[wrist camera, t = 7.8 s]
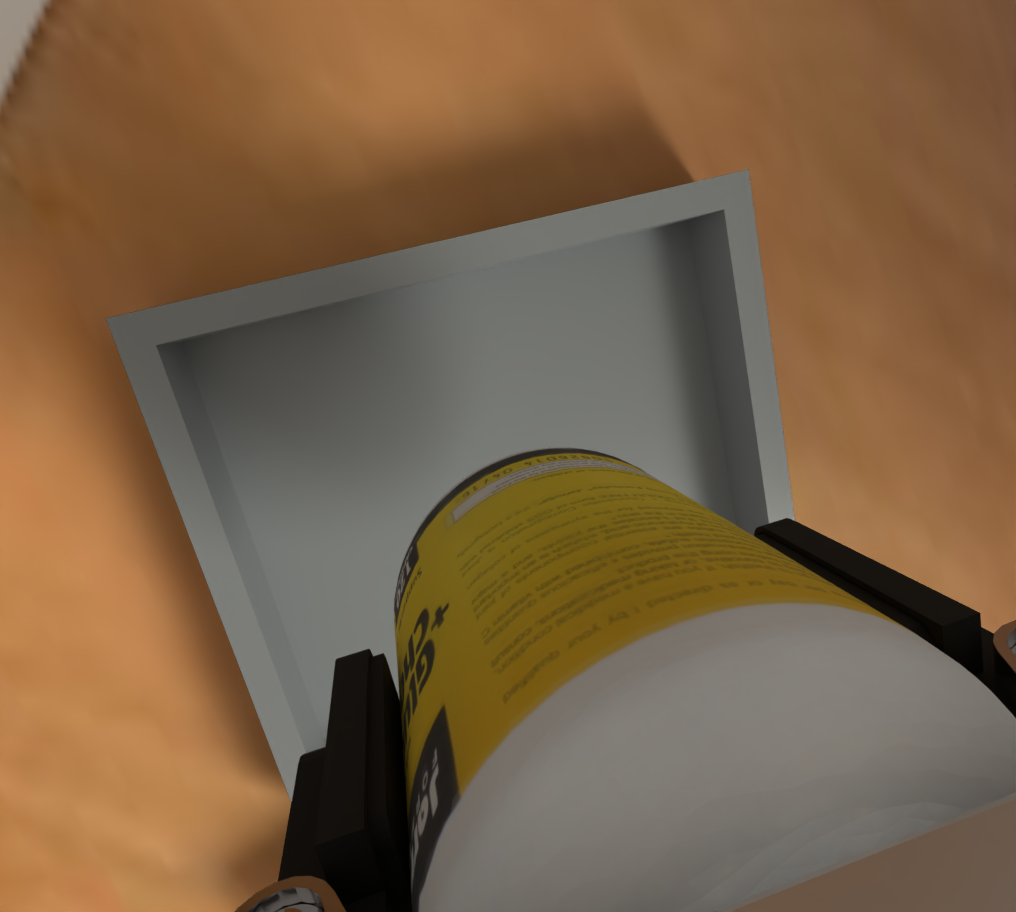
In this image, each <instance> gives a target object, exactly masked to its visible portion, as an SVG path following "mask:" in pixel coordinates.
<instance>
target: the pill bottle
mask: <svg viewBox="0 0 1016 912" xmlns="http://www.w3.org/2000/svg"><path fill="white" fill-rule="evenodd" d="M394 627H395V641H396V654H397V667H398V684H399V700H400V716H401V728H402V741H403V757H404V772H405V785H406V800H407V819H408V838H409V866H410V874H411V892H412V912H713V911H715V910H718V909H720V908H723V907H725V906H728V905H731V904H733V903H736V902H738V901H741V900H743V899H746V898H748V897H751V896H753V895H756V894H758V893H761V892H763V891H766V890H768V889H771V888H773V887H776V886H778V885H781V884H783V883H786V882H788V881H791V880H793V879H796V878H799V877H801V876H804V875H806V874H809V873H811V872H814V871H816V870H819V869H821V868H824V867H826V866H829V865H831V864H834V863H836V862H839V861H841V860H844V859H846V858H849V857H852V856H854V855H857V854H859V853H862V852H864V851H867V850H869V849H872V848H874V847H877V846H879V845H882V844H885V843H887V842H890V841H892V840H895V839H897V838H900V837H902V836H905V835H907V834H910V833H912V832H915V831H918V830H920V829H923V828H925V827H928V826H930V825H933V824H935V823H938V822H940V821H943V820H946V819H948V818H951V817H953V816H956V815H958V814H961V813H964V812H966V811H969V810H971V809H974V808H976V807H979V806H982V805H984V804H987V803H989V802H992V801H995V800H997V799H1000V798H1002V797H1005V796H1007V795H1010V794H1013V793H1015V792H1016V718H1015V717H1014V716H1013V714H1012V713H1011V712H1010V711H1009V710H1008V709H1007V708H1006V707H1005V706H1004V705H1003V703H1002V702H1001V701H1000V700H999V699H998V698H997V697H996V696H995V695H994V694H993V693H992V692H991V691H990V690H989V689H988V688H987V687H986V686H985V685H984V684H983V683H982V682H981V681H980V680H979V679H977V678H976V677H975V676H974V675H973V674H972V673H970V672H969V671H968V670H967V669H965V668H964V667H963V666H962V665H960V664H959V663H958V662H956V661H955V660H953V659H952V658H950V657H949V656H947V655H946V654H944V653H943V652H942V651H940V650H939V649H937V648H936V647H934V646H933V645H931V644H930V643H928V642H927V641H925V640H924V639H922V638H921V637H919V636H918V635H917V634H915V633H914V632H912V631H910V630H909V629H907V628H905V627H904V626H902V625H900V624H899V623H897V622H895V621H894V620H892V619H890V618H889V617H887V616H885V615H884V614H882V613H880V612H879V611H877V610H875V609H874V608H872V607H870V606H869V605H867V604H865V603H864V602H862V601H860V600H859V599H857V598H855V597H854V596H852V595H850V594H849V593H847V592H845V591H844V590H842V589H840V588H839V587H837V586H835V585H834V584H832V583H830V582H829V581H827V580H825V579H824V578H822V577H820V576H819V575H817V574H815V573H814V572H812V571H810V570H809V569H807V568H805V567H804V566H802V565H800V564H799V563H797V562H796V561H794V560H792V559H791V558H789V557H787V556H786V555H784V554H782V553H781V552H779V551H778V550H776V549H774V548H773V547H771V546H769V545H768V544H766V543H764V542H763V541H761V540H759V539H758V538H756V537H754V536H753V535H751V534H749V533H748V532H746V531H744V530H743V529H741V528H739V527H738V526H736V525H734V524H733V523H731V522H729V521H728V520H726V519H725V518H723V517H721V516H719V515H718V514H716V513H714V512H713V511H711V510H709V509H707V508H706V507H704V506H702V505H701V504H699V503H697V502H696V501H694V500H692V499H690V498H689V497H687V496H685V495H684V494H682V493H680V492H678V491H677V490H675V489H673V488H672V487H670V486H668V485H667V484H665V483H663V482H661V481H660V480H658V479H656V478H655V477H653V476H651V475H650V474H648V473H646V472H645V471H643V470H642V469H640V468H638V467H636V466H634V465H632V464H630V463H628V462H626V461H623V460H621V459H619V458H617V457H614V456H611V455H608V454H604V453H601V452H597V451H593V450H587V449H580V448H572V447H552V448H540V449H533V450H528V451H523V452H519V453H516V454H513V455H510V456H507V457H504V458H501V459H499V460H496V461H494V462H492V463H490V464H488V465H486V466H484V467H482V468H480V469H478V470H476V471H475V472H473V473H472V474H470V475H468V476H467V477H465V478H464V479H463V480H461V481H460V482H459V483H458V484H456V485H455V486H454V487H452V488H451V489H450V490H449V491H448V492H447V493H446V494H445V495H444V496H443V497H442V498H441V499H440V500H439V501H438V502H437V503H436V504H435V505H434V507H433V508H432V509H431V510H430V511H429V513H428V514H427V515H426V517H425V518H424V519H423V521H422V522H421V524H420V526H419V527H418V529H417V531H416V533H415V535H414V536H413V538H412V540H411V542H410V544H409V546H408V549H407V551H406V554H405V556H404V559H403V562H402V565H401V568H400V572H399V576H398V581H397V587H396V592H395V598H394Z"/></svg>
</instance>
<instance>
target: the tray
mask: <svg viewBox="0 0 1016 912" xmlns="http://www.w3.org/2000/svg"><path fill="white" fill-rule="evenodd" d="M106 321H107V323H108V326H109V328H110V331H111V334H112V336H113V339H114V342H115V344H116V347H117V349H118V352H119V355H120V357H121V360H122V362H123V365H124V368H125V370H126V373H127V375H128V378H129V381H130V383H131V386H132V388H133V391H134V394H135V396H136V399H137V401H138V404H139V407H140V409H141V412H142V414H143V417H144V420H145V422H146V425H147V428H148V430H149V433H150V435H151V438H152V441H153V443H154V446H155V448H156V451H157V454H158V456H159V459H160V461H161V464H162V467H163V469H164V472H165V474H166V477H167V480H168V482H169V485H170V487H171V490H172V493H173V495H174V498H175V501H176V503H177V506H178V508H179V511H180V514H181V516H182V519H183V521H184V524H185V527H186V529H187V532H188V534H189V537H190V540H191V542H192V545H193V547H194V550H195V553H196V555H197V558H198V560H199V563H200V566H201V568H202V571H203V574H204V576H205V579H206V581H207V584H208V587H209V589H210V592H211V594H212V597H213V600H214V602H215V605H216V607H217V610H218V613H219V615H220V618H221V620H222V623H223V626H224V628H225V631H226V633H227V636H228V639H229V641H230V644H231V647H232V649H233V652H234V654H235V657H236V660H237V662H238V665H239V667H240V670H241V673H242V675H243V678H244V680H245V683H246V686H247V688H248V691H249V693H250V696H251V699H252V701H253V704H254V706H255V709H256V712H257V714H258V717H259V719H260V722H261V725H262V727H263V730H264V733H265V735H266V738H267V740H268V743H269V746H270V748H271V751H272V753H273V756H274V759H275V761H276V764H277V766H278V769H279V772H280V774H281V777H282V779H283V782H284V785H285V787H286V790H287V792H288V795H289V798H290V800H291V803H292V797H293V791H294V785H295V779H296V774H297V768H298V763H299V759H300V756H302V755H303V754H305V753H308V752H311V751H314V750H317V749H320V748H323V747H326V738H327V729H328V721H329V712H330V703H331V694H332V686H333V677H334V668H335V661H336V659H337V658H340V657H343V656H347V655H350V654H353V653H356V652H359V651H363V650H366V649H370V650H371V652H372V654H373V656H376V655H379V654H382V653H384V654H385V657H386V659H387V662H388V665H389V668H390V671H391V675H392V678H393V681H394V684H395V687H396V690H397V693H398V697H399V684H398V667H397V654H396V641H395V627H394V598H395V592H396V587H397V581H398V576H399V572H400V568H401V565H402V562H403V559H404V556H405V554H406V551H407V549H408V546H409V544H410V542H411V540H412V538H413V536H414V535H415V533H416V531H417V529H418V527H419V526H420V524H421V522H422V521H423V519H424V518H425V517H426V515H427V514H428V513H429V511H430V510H431V509H432V508H433V507H434V505H435V504H436V503H437V502H438V501H439V500H440V499H441V498H442V497H443V496H444V495H445V494H446V493H447V492H448V491H449V490H450V489H451V488H452V487H454V486H455V485H456V484H458V483H459V482H460V481H461V480H463V479H464V478H465V477H467V476H468V475H470V474H472V473H473V472H475V471H476V470H478V469H480V468H482V467H484V466H486V465H488V464H490V463H492V462H494V461H496V460H499V459H501V458H504V457H507V456H510V455H513V454H516V453H519V452H523V451H528V450H533V449H540V448H552V447H572V448H580V449H587V450H593V451H597V452H601V453H604V454H608V455H611V456H614V457H617V458H619V459H621V460H623V461H626V462H628V463H630V464H632V465H634V466H636V467H638V468H640V469H642V470H643V471H645V472H646V473H648V474H650V475H651V476H653V477H655V478H656V479H658V480H660V481H661V482H663V483H665V484H667V485H668V486H670V487H672V488H673V489H675V490H677V491H678V492H680V493H682V494H684V495H685V496H687V497H689V498H690V499H692V500H694V501H696V502H697V503H699V504H701V505H702V506H704V507H706V508H707V509H709V510H711V511H713V512H714V513H716V514H718V515H719V516H721V517H723V518H725V519H726V520H728V521H729V522H731V523H733V524H734V525H736V526H738V527H739V528H741V529H743V530H744V531H746V532H748V533H749V534H751V535H753V536H754V532H755V529H756V528H757V527H759V526H763V525H766V524H769V523H772V522H775V521H779V520H782V519H785V518H789V519H792V520H794V521H795V516H794V509H793V501H792V494H791V486H790V479H789V471H788V463H787V456H786V448H785V441H784V433H783V426H782V418H781V410H780V403H779V395H778V388H777V380H776V372H775V365H774V357H773V350H772V342H771V335H770V327H769V319H768V312H767V304H766V297H765V289H764V282H763V274H762V266H761V259H760V251H759V244H758V236H757V229H756V221H755V213H754V206H753V198H752V191H751V183H750V176H749V169H748V170H744V171H739V172H735V173H731V174H726V175H722V176H718V177H713V178H709V179H705V180H701V181H696V182H692V183H688V184H683V185H679V186H675V187H670V188H666V189H662V190H657V191H653V192H649V193H644V194H640V195H636V196H632V197H627V198H623V199H619V200H614V201H610V202H606V203H601V204H597V205H593V206H588V207H584V208H580V209H575V210H571V211H567V212H562V213H558V214H554V215H550V216H545V217H541V218H537V219H532V220H528V221H524V222H519V223H515V224H511V225H506V226H502V227H498V228H493V229H489V230H485V231H481V232H476V233H472V234H468V235H463V236H459V237H455V238H450V239H446V240H442V241H437V242H433V243H429V244H424V245H420V246H416V247H412V248H407V249H403V250H399V251H394V252H390V253H386V254H381V255H377V256H373V257H368V258H364V259H360V260H355V261H351V262H347V263H343V264H338V265H334V266H330V267H325V268H321V269H317V270H312V271H308V272H304V273H299V274H295V275H291V276H286V277H282V278H278V279H274V280H269V281H265V282H261V283H256V284H252V285H248V286H243V287H239V288H235V289H230V290H226V291H222V292H217V293H213V294H209V295H205V296H200V297H196V298H192V299H187V300H183V301H179V302H174V303H170V304H166V305H161V306H157V307H153V308H148V309H144V310H140V311H135V312H131V313H127V314H123V315H118V316H114V317H110V318H106Z"/></svg>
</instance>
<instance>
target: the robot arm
mask: <svg viewBox="0 0 1016 912" xmlns="http://www.w3.org/2000/svg"><path fill="white" fill-rule="evenodd" d="M754 537H756V538H758V539H759V540H761V541H763V542H764V543H766V544H768V545H769V546H771V547H773V548H774V549H776V550H778V551H779V552H781V553H782V554H784V555H786V556H787V557H789V558H791V559H792V560H794V561H796V562H797V563H799V564H800V565H802V566H804V567H805V568H807V569H809V570H810V571H812V572H814V573H815V574H817V575H819V576H820V577H822V578H824V579H825V580H827V581H829V582H830V583H832V584H834V585H835V586H837V587H839V588H840V589H842V590H844V591H845V592H847V593H849V594H850V595H852V596H854V597H855V598H857V599H859V600H860V601H862V602H864V603H865V604H867V605H869V606H870V607H872V608H874V609H875V610H877V611H879V612H880V613H882V614H884V615H885V616H887V617H889V618H890V619H892V620H894V621H895V622H897V623H899V624H900V625H902V626H904V627H905V628H907V629H909V630H910V631H912V632H914V633H915V634H917V635H918V636H919V637H921V638H922V639H924V640H925V641H927V642H928V643H930V644H931V645H933V646H934V647H936V648H937V649H939V650H940V651H942V652H943V653H944V654H946V655H947V656H949V657H950V658H952V659H953V660H955V661H956V662H958V663H959V664H960V665H962V666H963V667H964V668H965V669H967V670H968V671H969V672H970V673H972V674H973V675H974V676H975V677H976V678H977V679H979V680H980V681H981V682H982V683H983V684H984V685H985V686H986V687H987V688H988V689H989V690H990V691H991V692H992V693H993V694H994V695H995V696H996V697H997V698H998V699H999V700H1000V701H1001V702H1002V703H1003V705H1004V706H1005V707H1006V708H1007V709H1008V710H1009V711H1010V712H1011V713H1012V714H1013V716H1014V717H1015V718H1016V620H1015V621H1012V622H1010V623H1007V624H1005V625H1002V626H1001V627H1000V628H999V629H998V630H997V631H996V632H995V633H994V634H993V633H991V632H990V631H988V630H986V629H984V628H982V627H981V619H980V613H979V612H977V611H975V610H973V609H971V608H969V607H967V606H965V605H963V604H961V603H959V602H957V601H955V600H953V599H951V598H949V597H947V596H945V595H943V594H941V593H939V592H937V591H935V590H933V589H931V588H929V587H927V586H925V585H923V584H921V583H919V582H917V581H915V580H913V579H911V578H909V577H907V576H905V575H903V574H901V573H899V572H897V571H895V570H893V569H891V568H889V567H886V566H884V565H882V564H880V563H878V562H876V561H874V560H872V559H870V558H868V557H866V556H864V555H862V554H860V553H858V552H856V551H854V550H852V549H850V548H848V547H846V546H844V545H842V544H840V543H838V542H836V541H834V540H832V539H830V538H828V537H826V536H824V535H822V534H820V533H818V532H816V531H814V530H812V529H810V528H808V527H806V526H804V525H802V524H800V523H798V522H796V521H794V520H792V519H789V518H785V519H782V520H779V521H775V522H772V523H769V524H766V525H763V526H759V527H757V528H756V529H755V532H754ZM235 912H412V892H411V874H410V866H409V838H408V819H407V800H406V785H405V772H404V757H403V741H402V728H401V716H400V700H399V697H398V693H397V690H396V687H395V684H394V681H393V678H392V675H391V671H390V668H389V665H388V662H387V659H386V657H385V654H384V653H382V654H379V655H376V656H373V654H372V652H371V650H370V649H366V650H363V651H359V652H356V653H353V654H350V655H347V656H343V657H340V658H337V659H336V661H335V668H334V677H333V686H332V694H331V703H330V712H329V721H328V729H327V738H326V747H323V748H320V749H317V750H314V751H311V752H308V753H305V754H303V755H302V756H300V759H299V763H298V768H297V774H296V779H295V785H294V791H293V797H292V803H291V809H290V814H289V820H288V826H287V832H286V838H285V844H284V849H283V855H282V861H281V867H280V873H279V879H278V882H275V883H273V884H272V885H270V886H268V887H266V888H264V889H263V890H261V891H259V892H257V893H256V894H254V895H253V896H252V897H251V898H249V899H248V900H247V901H246V902H245V903H243V904H242V905H241V906H240V907H238V908H237V910H236V911H235ZM713 912H1016V792H1015V793H1013V794H1010V795H1007V796H1005V797H1002V798H1000V799H997V800H995V801H992V802H989V803H987V804H984V805H982V806H979V807H976V808H974V809H971V810H969V811H966V812H964V813H961V814H958V815H956V816H953V817H951V818H948V819H946V820H943V821H940V822H938V823H935V824H933V825H930V826H928V827H925V828H923V829H920V830H918V831H915V832H912V833H910V834H907V835H905V836H902V837H900V838H897V839H895V840H892V841H890V842H887V843H885V844H882V845H879V846H877V847H874V848H872V849H869V850H867V851H864V852H862V853H859V854H857V855H854V856H852V857H849V858H846V859H844V860H841V861H839V862H836V863H834V864H831V865H829V866H826V867H824V868H821V869H819V870H816V871H814V872H811V873H809V874H806V875H804V876H801V877H799V878H796V879H793V880H791V881H788V882H786V883H783V884H781V885H778V886H776V887H773V888H771V889H768V890H766V891H763V892H761V893H758V894H756V895H753V896H751V897H748V898H746V899H743V900H741V901H738V902H736V903H733V904H731V905H728V906H725V907H723V908H720V909H718V910H715V911H713Z"/></svg>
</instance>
